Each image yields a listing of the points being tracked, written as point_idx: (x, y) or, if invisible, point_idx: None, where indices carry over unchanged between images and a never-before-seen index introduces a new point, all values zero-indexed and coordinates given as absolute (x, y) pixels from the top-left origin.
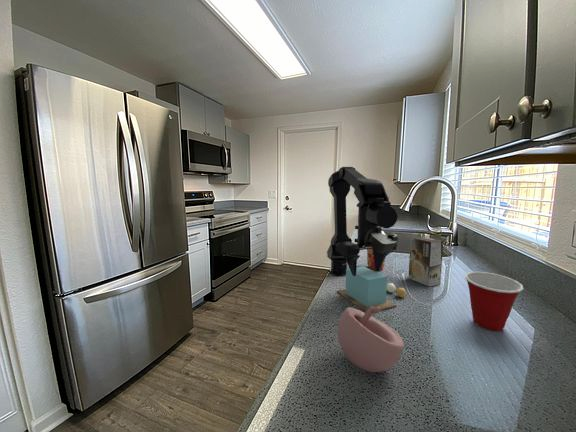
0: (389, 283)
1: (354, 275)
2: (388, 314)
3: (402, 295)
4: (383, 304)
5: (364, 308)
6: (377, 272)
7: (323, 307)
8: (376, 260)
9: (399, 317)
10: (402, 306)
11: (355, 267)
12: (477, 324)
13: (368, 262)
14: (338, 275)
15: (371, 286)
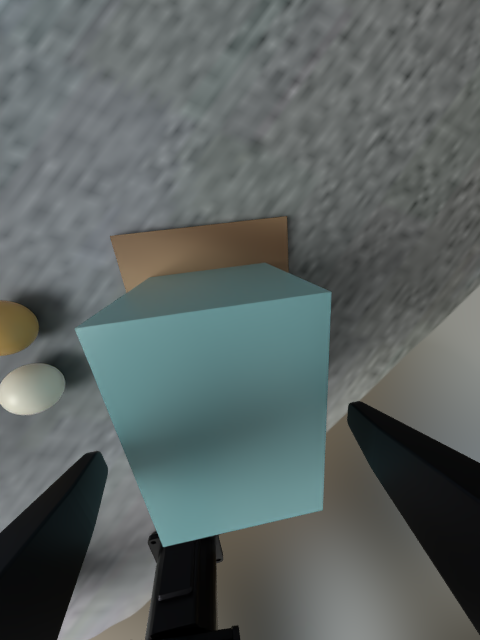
0: (25, 407)
1: (364, 404)
2: (201, 183)
3: (11, 302)
4: (175, 261)
5: (285, 255)
6: (120, 433)
7: (407, 319)
8: (34, 629)
9: (165, 134)
10: (75, 230)
11: (446, 460)
12: None
13: None
14: None
15: (272, 283)
